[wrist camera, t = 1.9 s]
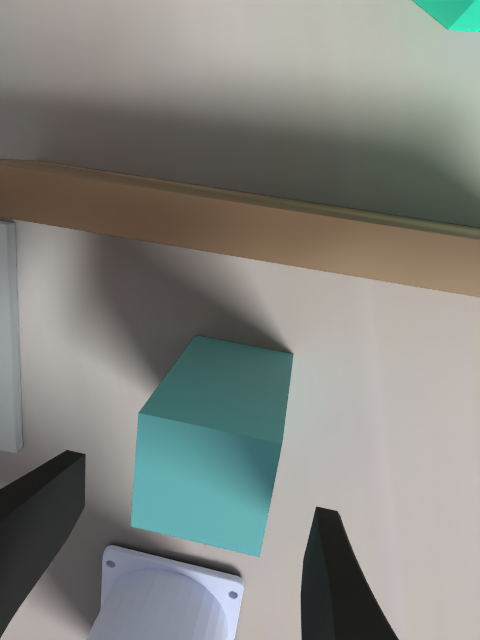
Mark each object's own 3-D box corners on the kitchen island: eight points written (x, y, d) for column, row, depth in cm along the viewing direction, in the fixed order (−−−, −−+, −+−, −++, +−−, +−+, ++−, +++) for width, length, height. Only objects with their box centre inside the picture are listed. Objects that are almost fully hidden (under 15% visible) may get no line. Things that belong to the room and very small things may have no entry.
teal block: (276, 439, 21) (259, 557, 15) (186, 419, 22) (130, 526, 15) (293, 353, 20) (281, 443, 13) (195, 335, 20) (138, 413, 14)
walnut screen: (513, 276, 17) (586, 315, 13) (35, 198, 19) (-54, 207, 15) (527, 235, 17) (609, 259, 12) (34, 160, 19) (-59, 156, 14)
